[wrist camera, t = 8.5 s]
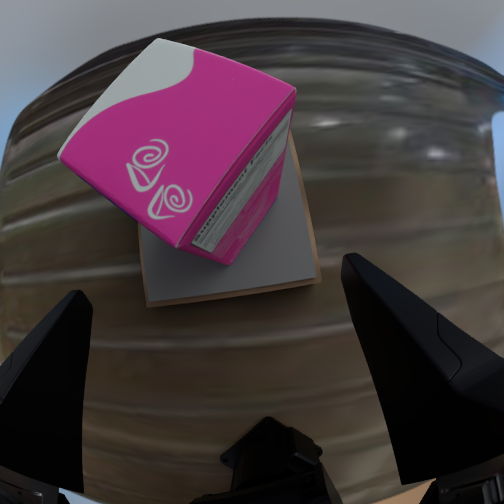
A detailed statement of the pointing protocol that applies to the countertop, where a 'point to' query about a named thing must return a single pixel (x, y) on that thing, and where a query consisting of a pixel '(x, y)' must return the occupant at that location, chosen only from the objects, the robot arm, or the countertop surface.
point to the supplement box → (187, 147)
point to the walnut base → (240, 254)
